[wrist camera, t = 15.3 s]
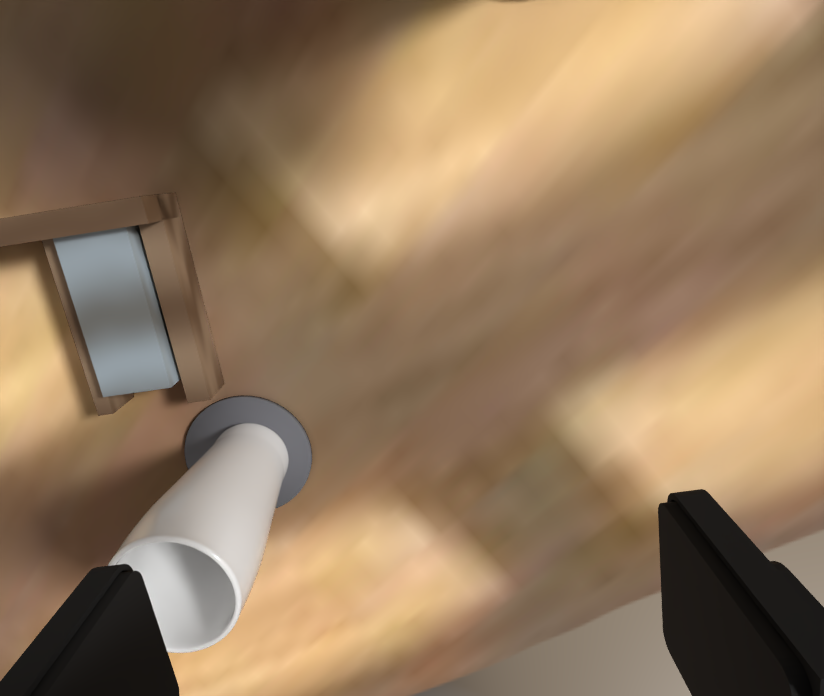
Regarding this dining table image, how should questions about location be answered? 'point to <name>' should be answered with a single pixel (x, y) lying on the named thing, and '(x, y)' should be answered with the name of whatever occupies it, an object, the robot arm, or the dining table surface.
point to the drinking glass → (209, 537)
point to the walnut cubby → (127, 296)
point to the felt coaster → (256, 412)
